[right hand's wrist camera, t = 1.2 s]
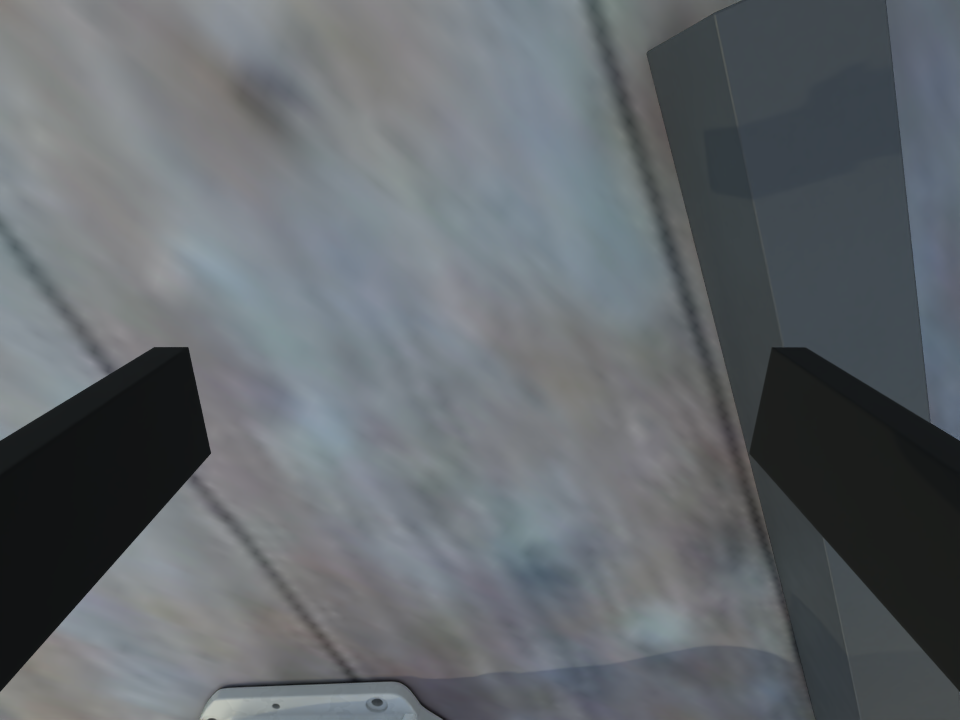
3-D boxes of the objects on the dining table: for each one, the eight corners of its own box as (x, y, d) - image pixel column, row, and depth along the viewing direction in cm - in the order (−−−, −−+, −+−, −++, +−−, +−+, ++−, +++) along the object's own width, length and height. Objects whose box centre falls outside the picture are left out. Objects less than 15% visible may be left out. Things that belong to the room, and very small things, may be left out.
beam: (645, 52, 26) (713, 13, 18) (761, 1, 25) (880, -62, 18) (849, 855, 50) (914, 979, 43) (911, 841, 49) (988, 966, 42)
